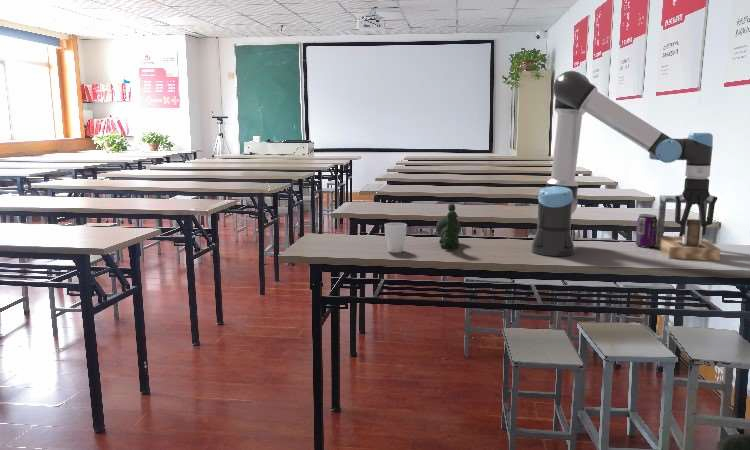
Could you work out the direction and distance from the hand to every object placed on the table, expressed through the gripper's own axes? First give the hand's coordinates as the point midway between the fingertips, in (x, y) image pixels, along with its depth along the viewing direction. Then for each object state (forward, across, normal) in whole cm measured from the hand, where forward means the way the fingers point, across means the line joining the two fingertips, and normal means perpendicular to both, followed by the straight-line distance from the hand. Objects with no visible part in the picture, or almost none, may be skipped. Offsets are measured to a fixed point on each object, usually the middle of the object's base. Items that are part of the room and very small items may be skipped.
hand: (691, 243), depth 209 cm
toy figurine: (+4, -85, -4) cm, 85 cm away
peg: (+4, 0, 0) cm, 4 cm away
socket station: (+5, 0, +6) cm, 8 cm away
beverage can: (+5, -12, +15) cm, 20 cm away
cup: (+4, -103, -18) cm, 105 cm away
